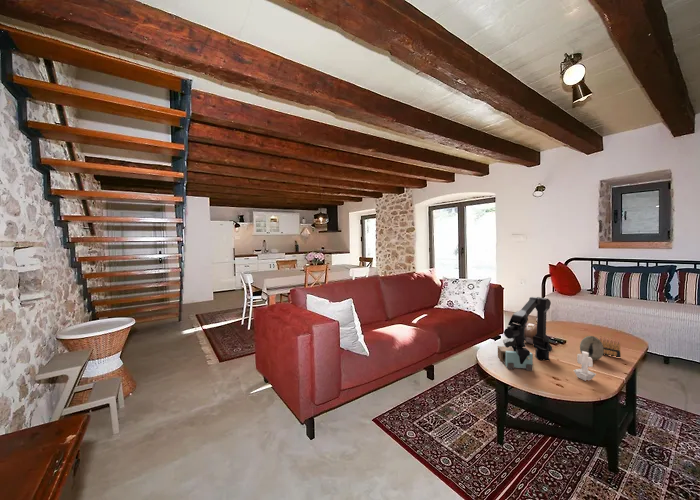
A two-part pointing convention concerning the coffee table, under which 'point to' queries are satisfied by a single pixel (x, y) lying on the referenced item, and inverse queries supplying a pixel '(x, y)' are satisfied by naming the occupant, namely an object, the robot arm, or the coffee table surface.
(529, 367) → the brown legged block
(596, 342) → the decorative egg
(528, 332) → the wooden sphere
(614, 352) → the ammunition clip
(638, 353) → the coffee table surface
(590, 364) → the figurine
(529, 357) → the door
